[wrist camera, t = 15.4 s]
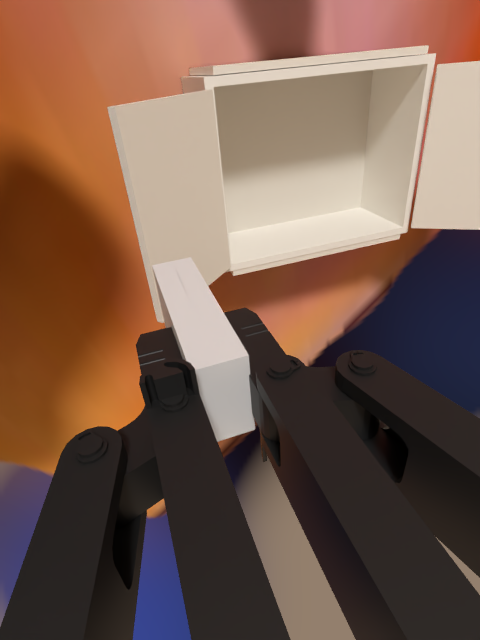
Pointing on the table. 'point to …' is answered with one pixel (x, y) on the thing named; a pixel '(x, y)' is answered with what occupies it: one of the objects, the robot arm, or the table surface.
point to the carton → (317, 150)
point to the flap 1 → (174, 182)
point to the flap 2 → (451, 152)
